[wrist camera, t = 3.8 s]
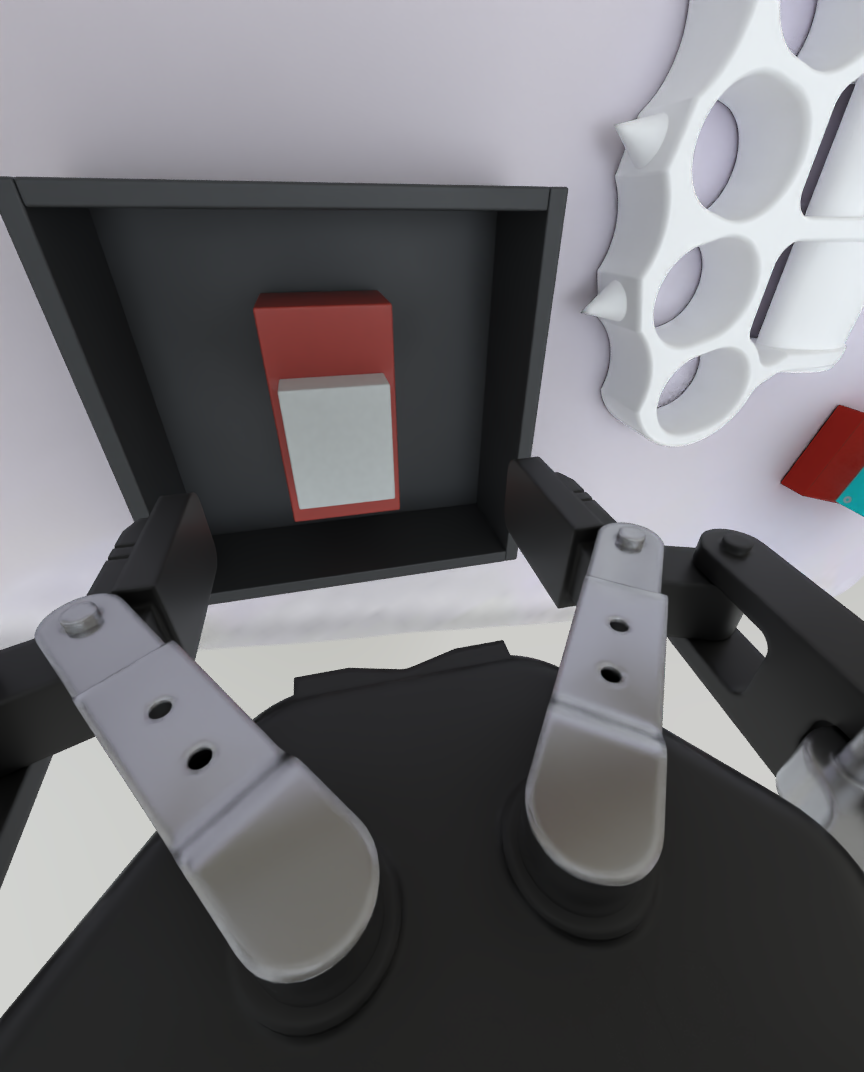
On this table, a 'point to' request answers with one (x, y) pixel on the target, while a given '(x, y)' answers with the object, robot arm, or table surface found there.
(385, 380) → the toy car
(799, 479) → the toy robot
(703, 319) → the knuckle duster
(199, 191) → the storage box
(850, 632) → the robot arm
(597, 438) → the table surface
